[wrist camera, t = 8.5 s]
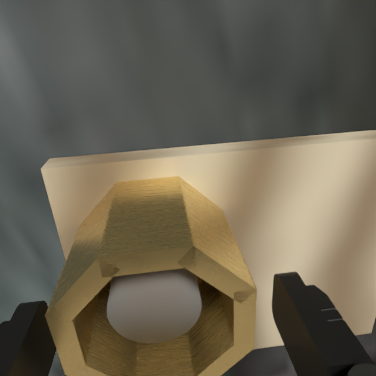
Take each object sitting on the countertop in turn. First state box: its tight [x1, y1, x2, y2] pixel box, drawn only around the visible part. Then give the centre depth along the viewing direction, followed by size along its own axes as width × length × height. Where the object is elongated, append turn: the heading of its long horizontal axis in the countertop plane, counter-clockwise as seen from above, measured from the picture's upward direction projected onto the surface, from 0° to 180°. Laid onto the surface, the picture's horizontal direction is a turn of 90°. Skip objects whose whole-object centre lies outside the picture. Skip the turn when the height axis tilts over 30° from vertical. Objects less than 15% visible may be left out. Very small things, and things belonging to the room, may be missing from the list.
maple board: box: [41, 130, 376, 349], centre depth 13 cm, size 16×12×8 cm
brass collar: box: [45, 176, 257, 376], centre depth 12 cm, size 6×6×5 cm
